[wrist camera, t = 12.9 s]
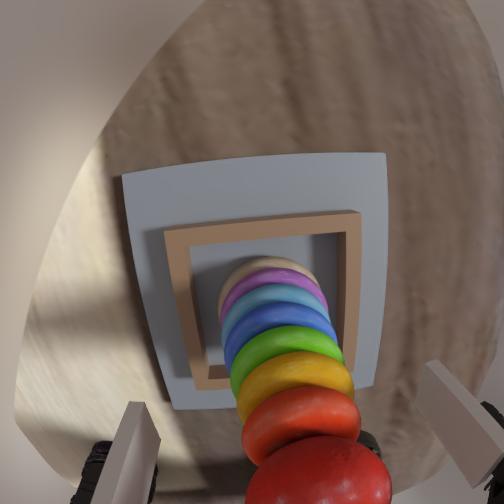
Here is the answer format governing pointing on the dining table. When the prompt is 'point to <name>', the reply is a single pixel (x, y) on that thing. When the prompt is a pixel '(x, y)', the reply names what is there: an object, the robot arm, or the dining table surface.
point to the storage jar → (100, 456)
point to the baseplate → (256, 253)
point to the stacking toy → (294, 390)
